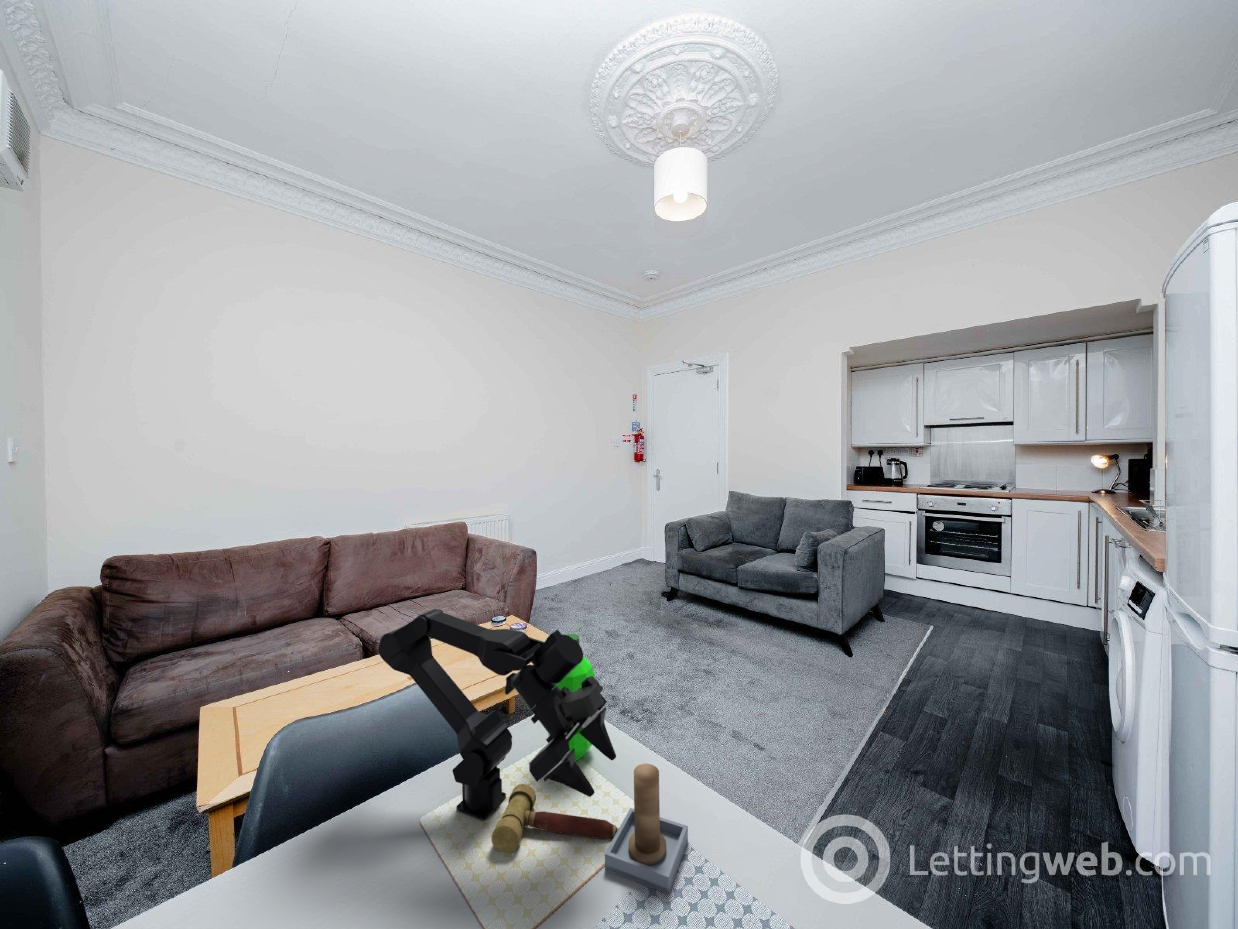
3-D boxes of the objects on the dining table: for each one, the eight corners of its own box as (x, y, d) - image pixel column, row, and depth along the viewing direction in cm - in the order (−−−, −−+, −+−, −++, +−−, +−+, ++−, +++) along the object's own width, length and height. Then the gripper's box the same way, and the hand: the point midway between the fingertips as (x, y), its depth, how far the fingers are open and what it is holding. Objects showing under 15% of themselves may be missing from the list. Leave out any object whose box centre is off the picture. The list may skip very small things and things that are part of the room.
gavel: (626, 797, 83) (620, 843, 73) (625, 822, 83) (619, 872, 73) (512, 781, 85) (491, 824, 75) (511, 806, 85) (490, 852, 75)
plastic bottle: (571, 733, 107) (569, 625, 107) (605, 752, 100) (603, 636, 100) (537, 755, 100) (534, 638, 99) (571, 776, 93) (568, 651, 92)
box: (605, 870, 72) (604, 854, 71) (630, 822, 81) (630, 808, 81) (668, 894, 67) (668, 877, 67) (687, 841, 77) (687, 826, 77)
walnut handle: (620, 851, 74) (619, 773, 74) (644, 828, 78) (643, 755, 78) (651, 873, 70) (649, 791, 70) (673, 848, 74) (672, 770, 74)
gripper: (545, 696, 70) (615, 787, 66) (596, 648, 87) (653, 718, 83) (501, 738, 73) (566, 827, 69) (559, 683, 90) (613, 752, 86)
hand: (604, 775), depth 77 cm, fingers open, 9 cm apart
